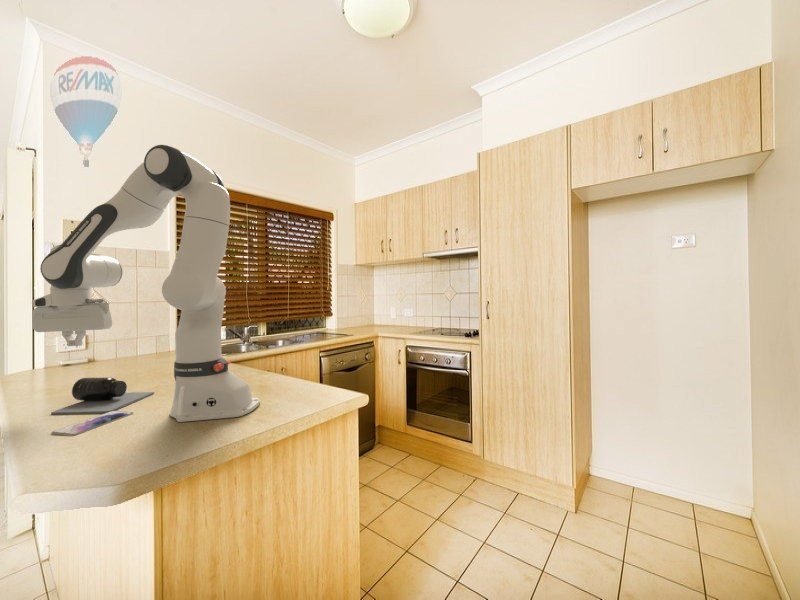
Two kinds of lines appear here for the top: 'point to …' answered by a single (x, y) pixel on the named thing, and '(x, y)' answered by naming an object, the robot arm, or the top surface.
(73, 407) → the rubber mat
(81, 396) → the supplement bottle
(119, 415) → the smartphone
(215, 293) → the robot arm
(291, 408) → the top surface
